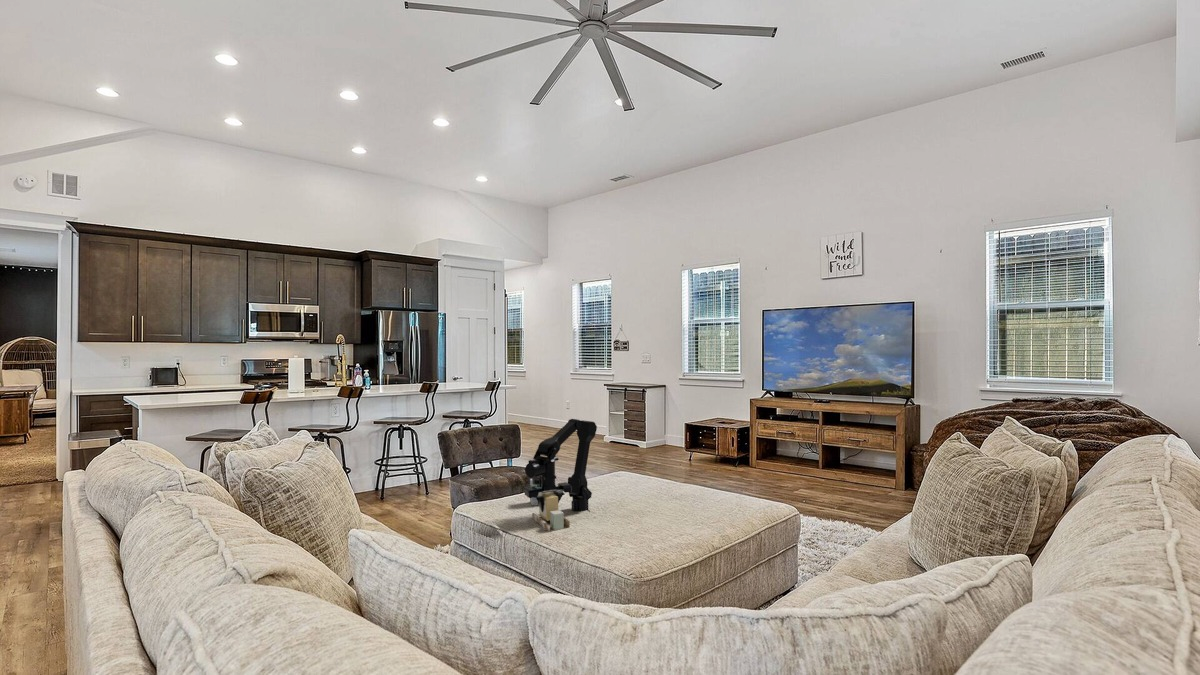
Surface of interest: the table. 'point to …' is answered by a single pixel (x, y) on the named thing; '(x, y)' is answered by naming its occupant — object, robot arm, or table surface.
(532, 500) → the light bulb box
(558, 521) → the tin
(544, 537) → the table surface
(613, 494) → the table surface
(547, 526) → the shelf
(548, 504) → the carton
